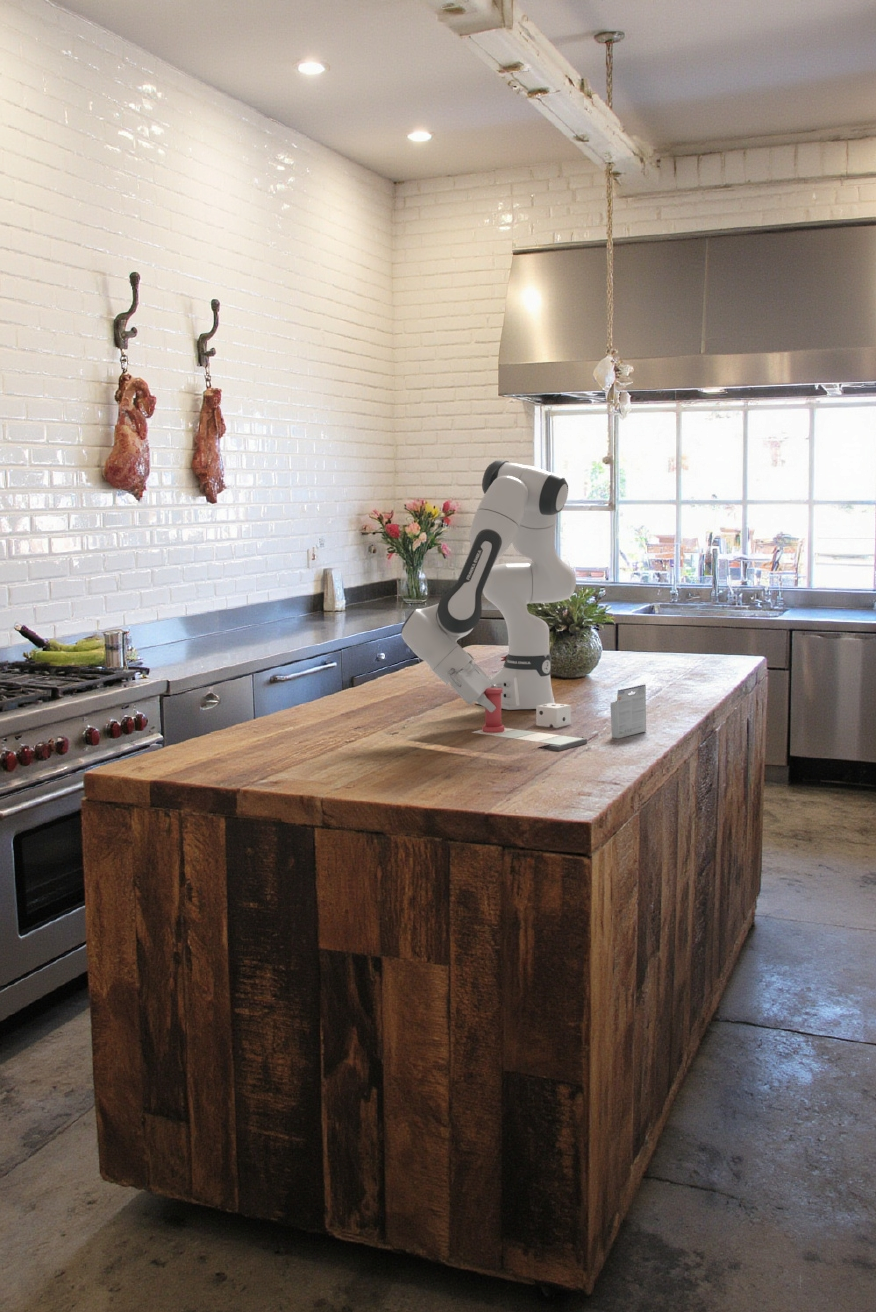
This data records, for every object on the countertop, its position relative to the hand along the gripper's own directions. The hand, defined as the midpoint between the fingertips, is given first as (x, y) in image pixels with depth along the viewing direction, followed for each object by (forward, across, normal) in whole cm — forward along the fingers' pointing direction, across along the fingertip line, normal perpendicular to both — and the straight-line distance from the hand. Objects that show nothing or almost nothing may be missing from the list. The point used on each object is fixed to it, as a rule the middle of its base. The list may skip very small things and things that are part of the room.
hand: (495, 708), depth 274 cm
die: (+14, +10, -4) cm, 17 cm away
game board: (+10, -5, -1) cm, 11 cm away
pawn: (+3, 0, +4) cm, 5 cm away
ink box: (+27, +5, -17) cm, 32 cm away
